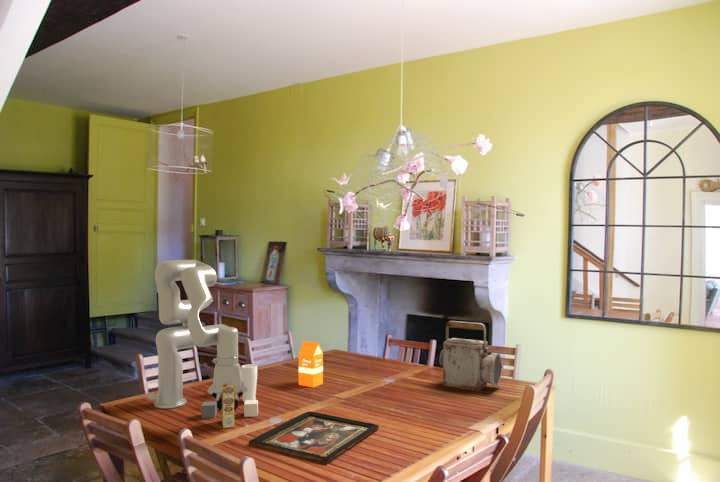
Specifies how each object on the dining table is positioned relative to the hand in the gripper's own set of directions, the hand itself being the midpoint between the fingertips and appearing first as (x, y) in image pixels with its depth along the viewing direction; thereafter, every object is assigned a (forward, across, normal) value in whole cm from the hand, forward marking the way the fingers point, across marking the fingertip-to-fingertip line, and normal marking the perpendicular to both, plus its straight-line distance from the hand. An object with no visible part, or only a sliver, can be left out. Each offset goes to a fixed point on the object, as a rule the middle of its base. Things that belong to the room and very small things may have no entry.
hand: (227, 409), depth 201 cm
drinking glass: (+6, +6, +27) cm, 28 cm away
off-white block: (+6, +8, +10) cm, 14 cm away
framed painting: (+6, +32, -17) cm, 37 cm away
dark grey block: (+6, -8, +10) cm, 14 cm away
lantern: (+6, +107, +39) cm, 114 cm away
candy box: (+6, 0, 0) cm, 6 cm away
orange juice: (+6, +33, +51) cm, 61 cm away
